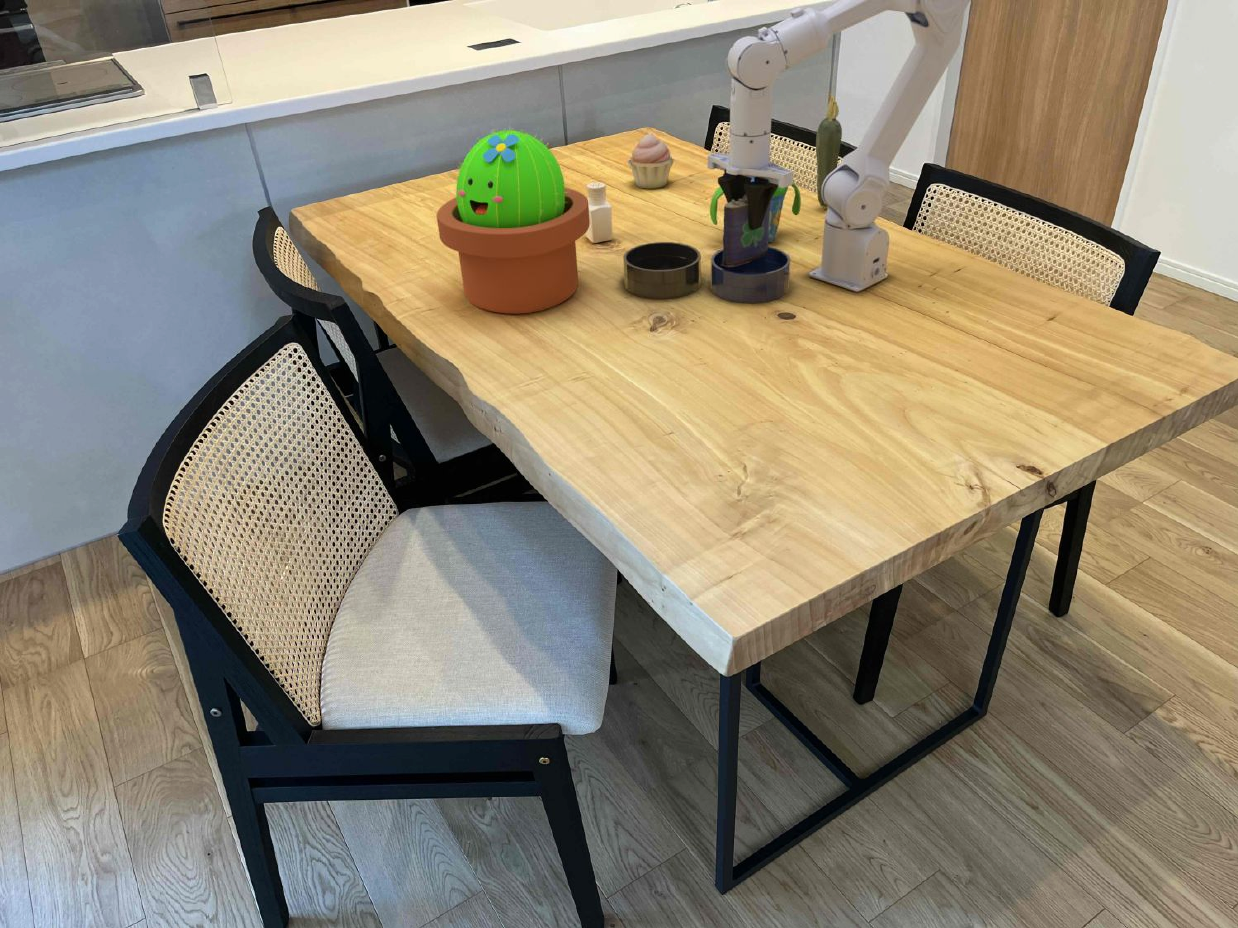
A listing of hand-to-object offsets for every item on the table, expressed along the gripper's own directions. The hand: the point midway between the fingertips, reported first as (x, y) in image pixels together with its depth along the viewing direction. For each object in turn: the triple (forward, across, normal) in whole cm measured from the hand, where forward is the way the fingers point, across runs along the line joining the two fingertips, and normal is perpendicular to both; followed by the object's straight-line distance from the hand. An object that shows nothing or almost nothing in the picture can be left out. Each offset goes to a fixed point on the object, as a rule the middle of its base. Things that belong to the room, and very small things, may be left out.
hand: (747, 225), depth 138 cm
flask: (+5, 0, 0) cm, 5 cm away
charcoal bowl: (+10, -10, -8) cm, 16 cm away
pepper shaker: (+10, -32, -2) cm, 34 cm away
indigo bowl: (+10, +1, 0) cm, 10 cm away
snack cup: (+10, -12, +16) cm, 23 cm away
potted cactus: (+10, -24, -25) cm, 36 cm away
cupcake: (+10, -47, +26) cm, 55 cm away
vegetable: (+10, -12, +35) cm, 39 cm away
